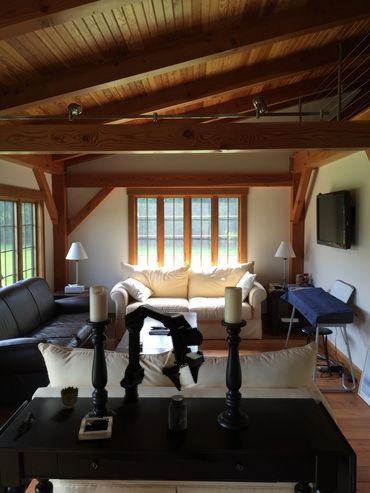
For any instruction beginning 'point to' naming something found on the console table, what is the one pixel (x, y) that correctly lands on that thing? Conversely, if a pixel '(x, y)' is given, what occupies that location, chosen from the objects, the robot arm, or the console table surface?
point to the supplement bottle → (177, 414)
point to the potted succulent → (69, 396)
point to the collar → (95, 434)
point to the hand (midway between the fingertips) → (188, 387)
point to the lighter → (26, 423)
